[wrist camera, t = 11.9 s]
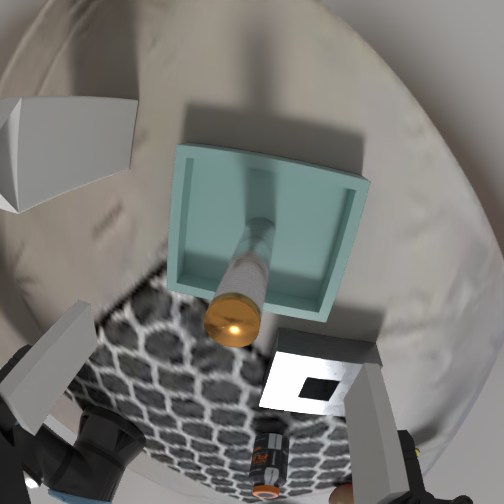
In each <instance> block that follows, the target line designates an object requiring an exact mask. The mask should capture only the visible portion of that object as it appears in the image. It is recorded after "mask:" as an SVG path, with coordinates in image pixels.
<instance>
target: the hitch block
mask: <svg viewBox="0 0 504 504" xmlns="http://www.w3.org/2000/svg"><path fill="white" fill-rule="evenodd" d="M364 363H373V364H379V366H380V370H381V368H382V367H383V365H382V362H381V358H380V355H379V352H378V348H377V345H376V343H372V342H364V341H357V340H350V339H343V338H336V337H330V336H323V335H317V334H311V333H305V332H300V331H294V330H289V329H283V328H279V329H278V333H277V336H276V340H275V343H274V346H273V350H272V353H271V357H270V360H269V363H268V367H267V370H266V373H265V376H264V380H263V383H262V390H261V397H260V404H259V406H262V407H268V408H274V409H280V410H287V411H295V412H303V413H311V414H321V415H332V416H345V408H344V401H343V399H344V397H345V396H346V394H347V392H348V391H349V389H350V387H351V386H352V384H353V382H354V380H355V379H356V377H357V375H358V373H359V372H360V370H361V368H362V366H363V364H364Z"/></svg>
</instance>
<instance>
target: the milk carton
mask: <svg viewBox="0 0 504 504" xmlns="http://www.w3.org/2000/svg"><path fill="white" fill-rule="evenodd" d="M137 106H138V100H133V99H122V98H110V97H94V96H23V97H14V98H7V99H1V100H0V208H1V209H4V210H7V211H10V212H14V213H17V214H19V213H21V212H23V211H26V210H28V209H30V208H32V207H34V206H36V205H39V204H41V203H43V202H45V201H47V200H50V199H52V198H54V197H57V196H59V195H61V194H64V193H66V192H69V191H71V190H74V189H76V188H79V187H81V186H84V185H86V184H89V183H92V182H94V181H97V180H100V179H102V178H105V177H108V176H111V175H114V174H117V173H119V172H122V171H125V170H128V169H129V167H130V157H131V149H132V140H133V133H134V126H135V119H136V113H137Z"/></svg>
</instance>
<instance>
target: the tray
mask: <svg viewBox="0 0 504 504" xmlns="http://www.w3.org/2000/svg"><path fill="white" fill-rule="evenodd" d="M369 186H370V181H369V180H367V179H366V178H365V177H363V176H361V175H358V174H354V173H350V172H346V171H342V170H338V169H334V168H330V167H326V166H321V165H317V164H313V163H308V162H304V161H299V160H294V159H289V158H284V157H279V156H274V155H269V154H263V153H258V152H252V151H246V150H240V149H234V148H227V147H220V146H213V145H206V144H198V143H190V142H188V143H182V144H177V145H176V153H175V162H174V172H173V182H172V194H171V206H170V221H169V238H168V261H167V289H168V290H172V291H176V292H180V293H184V294H188V295H192V296H197V297H201V298H205V299H210V300H212V299H213V297H214V294H215V292H216V290H217V288H218V286H219V284H220V281H221V279H222V277H223V275H224V273H225V271H226V268H227V266H228V264H229V262H230V260H231V258H232V255H233V253H234V251H235V249H236V247H237V245H238V243H239V240H240V238H241V236H242V234H243V232H244V230H245V228H246V225H247V224H248V222H249V221H250V220H252V219H254V218H257V217H263V218H266V219H268V220H270V221H271V222H272V223H273V225H274V226H275V230H276V235H275V241H274V247H273V253H272V259H271V265H270V271H269V277H268V283H267V288H266V294H265V300H264V306H263V311H266V312H271V313H276V314H281V315H286V316H292V317H297V318H302V319H308V320H314V321H319V322H325V323H326V321H327V318H328V316H329V313H330V310H331V308H332V305H333V302H334V299H335V297H336V294H337V291H338V288H339V285H340V282H341V279H342V276H343V273H344V270H345V267H346V264H347V261H348V258H349V255H350V252H351V249H352V246H353V242H354V239H355V236H356V232H357V229H358V226H359V222H360V219H361V215H362V212H363V208H364V204H365V201H366V197H367V193H368V189H369Z"/></svg>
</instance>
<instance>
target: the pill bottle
mask: <svg viewBox="0 0 504 504" xmlns="http://www.w3.org/2000/svg"><path fill="white" fill-rule="evenodd" d="M288 455H289V440H288V438H286V437H285V436H283V435H280V434H275V433H266V434H261V435H259V436H257V437H256V439H255V443H254V449H253V455H252V461H251V467H250V473H249V481H250V483H251V484H252V485H254V487H253V495H254V496H257V497H261V498H276V497H278V495H279V491H280V490H279V487H281V486H283V485H284V484H285V483H286V478H287V467H288Z"/></svg>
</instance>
